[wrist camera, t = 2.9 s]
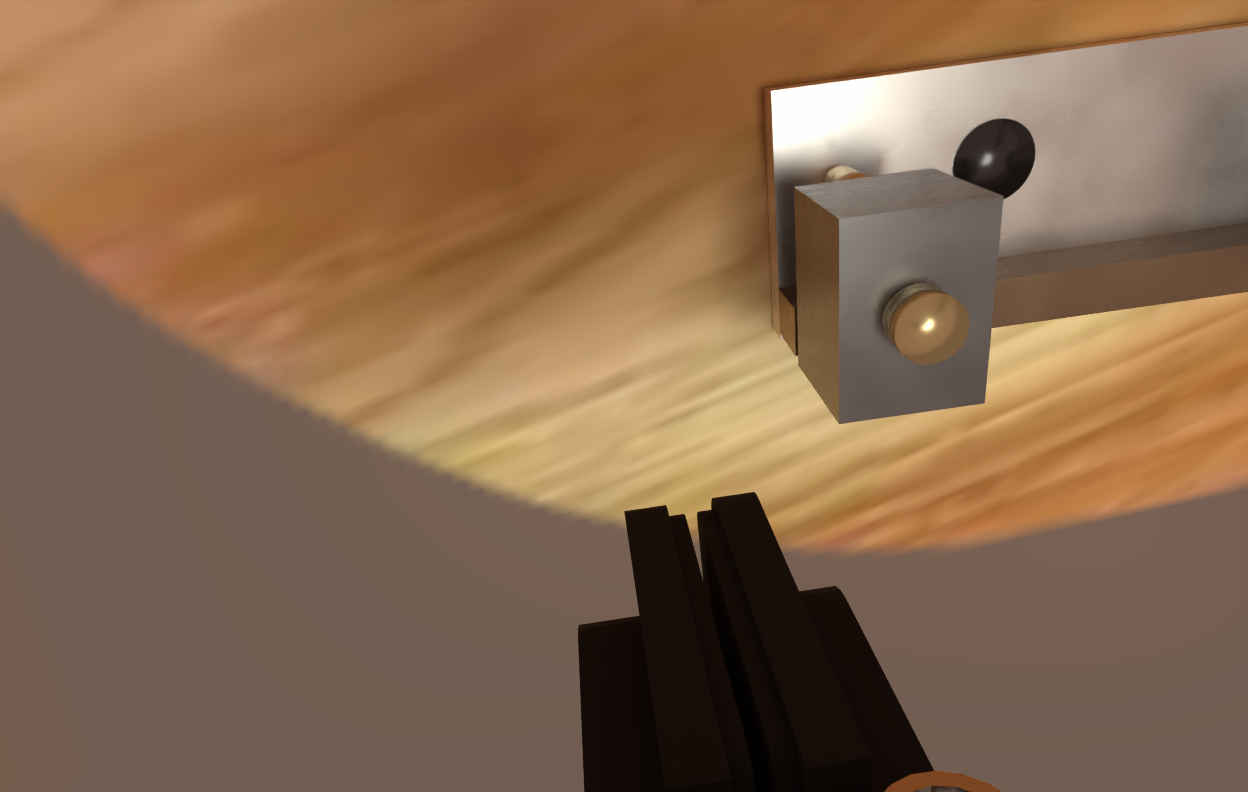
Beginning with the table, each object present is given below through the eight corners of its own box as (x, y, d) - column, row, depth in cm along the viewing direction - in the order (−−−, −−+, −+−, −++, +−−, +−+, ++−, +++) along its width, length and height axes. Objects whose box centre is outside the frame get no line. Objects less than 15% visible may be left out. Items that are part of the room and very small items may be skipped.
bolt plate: (1518, -16, 24) (1849, -28, 18) (1433, 234, 28) (1686, 297, 22) (763, 88, 24) (835, 112, 18) (772, 328, 28) (835, 418, 21)
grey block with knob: (904, 156, 24) (1026, 205, 18) (898, 325, 27) (1003, 420, 20) (776, 174, 24) (853, 229, 18) (782, 342, 26) (851, 441, 20)
